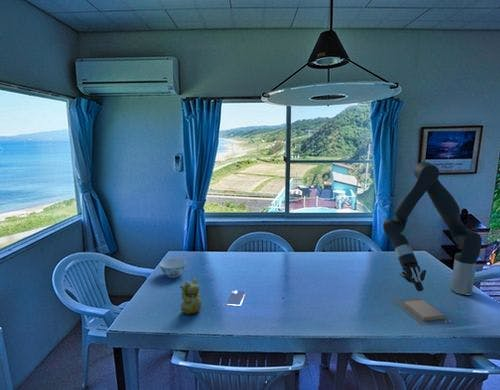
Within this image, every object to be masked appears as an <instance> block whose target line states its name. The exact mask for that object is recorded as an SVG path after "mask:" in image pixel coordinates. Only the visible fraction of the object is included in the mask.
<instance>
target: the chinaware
mask: <svg viewBox="0 0 500 390" xmlns="http://www.w3.org/2000/svg"><path fill="white" fill-rule="evenodd" d="M186 266H187V260H186V259H185V258H181V257H180V258H179V257H172V258H171V257H170V258H166V259H164V260H162V261H160V262H159V267H160V270H161V272H162V273H164V275H166V276H167V277H168V278H171V279H172V278H173V279H174V278H178V277H179V276H180V274H182V273H183V272H184V270H185V268H186Z"/></svg>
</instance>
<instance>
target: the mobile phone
mask: <svg viewBox="0 0 500 390" xmlns="http://www.w3.org/2000/svg"><path fill="white" fill-rule="evenodd" d="M246 292H247V291H245V290H236V289H235V290H234V289H233V290H232V291H231V292H230V294H229V296H228V299H227V301H226V302H225V306H229V307H237V308H238V307H241V306H242V304H243V301H244V299H245V296H246Z"/></svg>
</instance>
